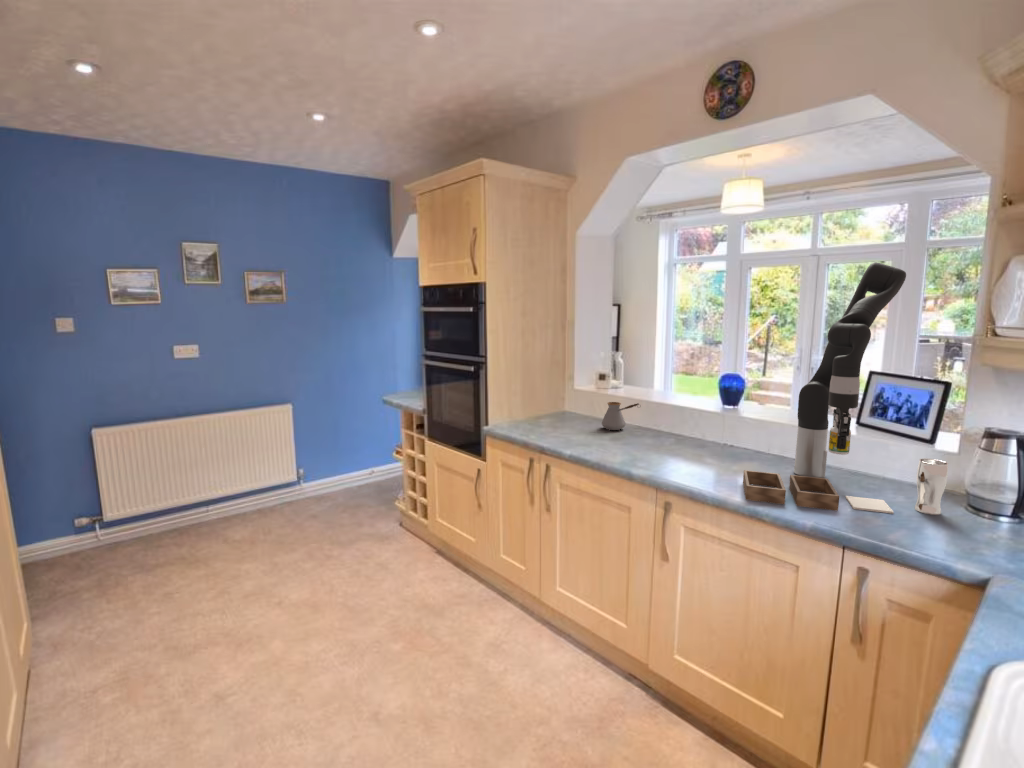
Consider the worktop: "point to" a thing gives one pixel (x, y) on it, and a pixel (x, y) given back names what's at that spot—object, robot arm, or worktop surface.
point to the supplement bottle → (833, 441)
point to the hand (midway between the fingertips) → (839, 446)
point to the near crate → (810, 498)
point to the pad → (869, 504)
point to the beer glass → (930, 485)
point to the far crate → (764, 493)
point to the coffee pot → (615, 416)
